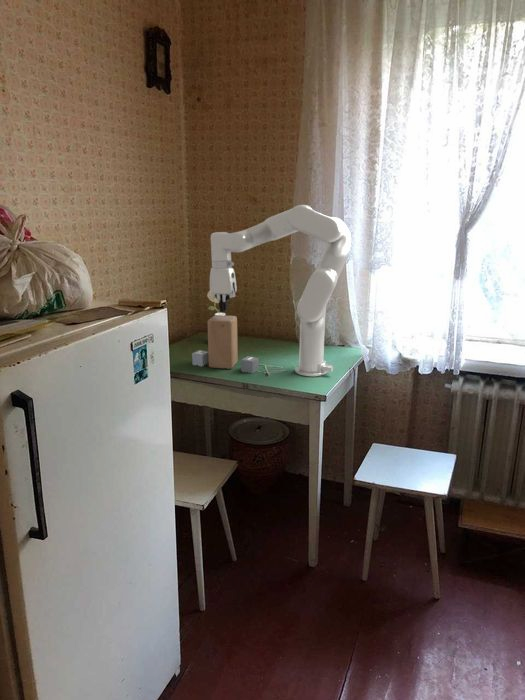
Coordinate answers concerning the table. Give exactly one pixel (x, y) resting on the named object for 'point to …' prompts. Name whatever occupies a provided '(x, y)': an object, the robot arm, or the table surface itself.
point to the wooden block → (222, 341)
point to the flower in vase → (214, 303)
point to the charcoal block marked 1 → (250, 364)
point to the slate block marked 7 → (200, 358)
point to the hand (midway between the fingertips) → (223, 311)
